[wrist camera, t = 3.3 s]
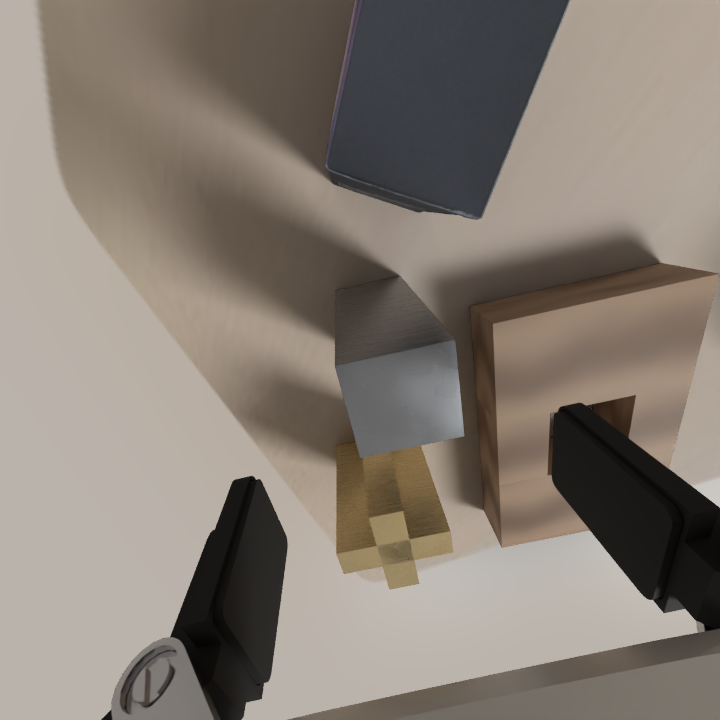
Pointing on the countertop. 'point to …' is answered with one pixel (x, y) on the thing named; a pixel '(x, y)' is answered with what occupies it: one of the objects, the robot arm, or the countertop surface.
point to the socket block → (580, 380)
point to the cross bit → (388, 513)
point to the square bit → (395, 368)
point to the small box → (436, 97)
